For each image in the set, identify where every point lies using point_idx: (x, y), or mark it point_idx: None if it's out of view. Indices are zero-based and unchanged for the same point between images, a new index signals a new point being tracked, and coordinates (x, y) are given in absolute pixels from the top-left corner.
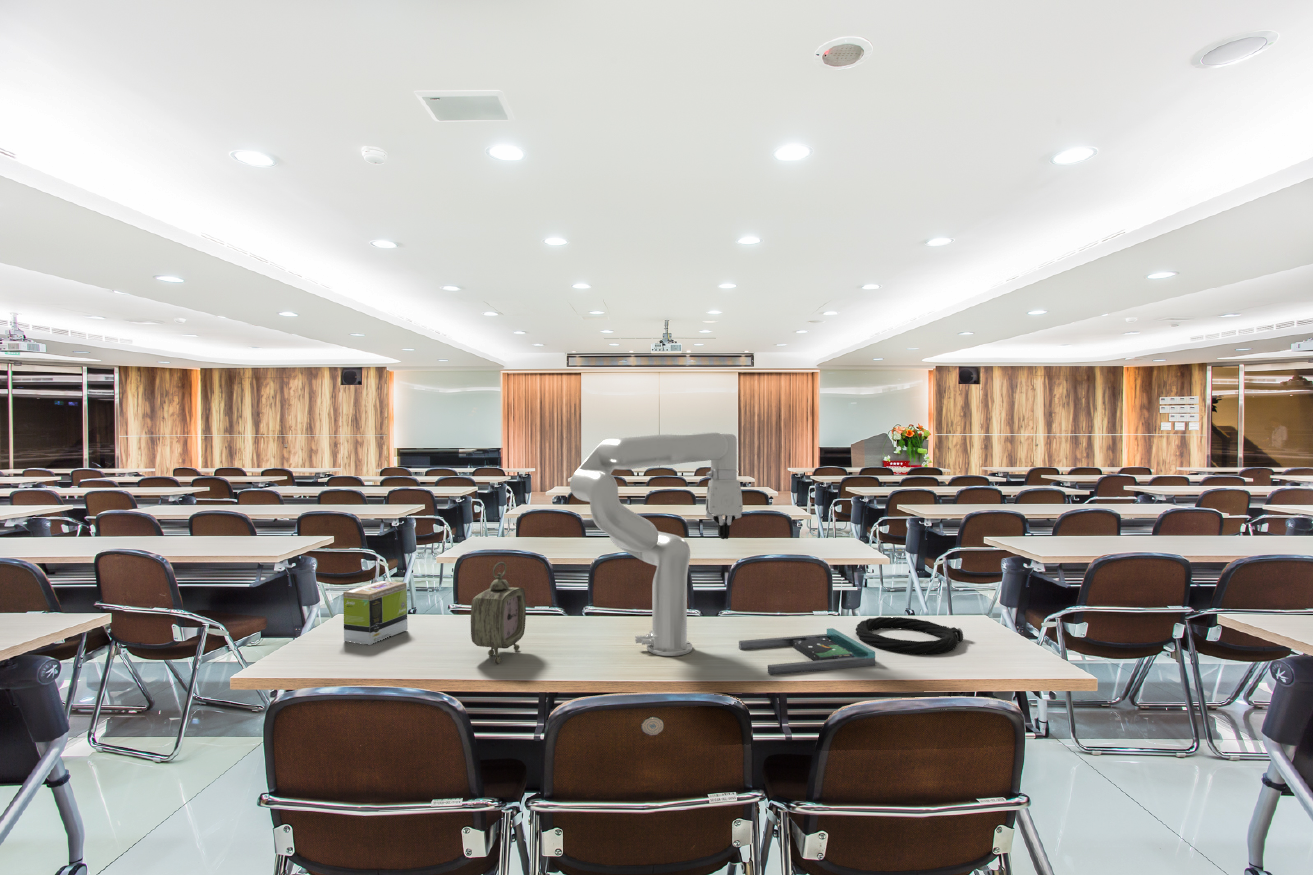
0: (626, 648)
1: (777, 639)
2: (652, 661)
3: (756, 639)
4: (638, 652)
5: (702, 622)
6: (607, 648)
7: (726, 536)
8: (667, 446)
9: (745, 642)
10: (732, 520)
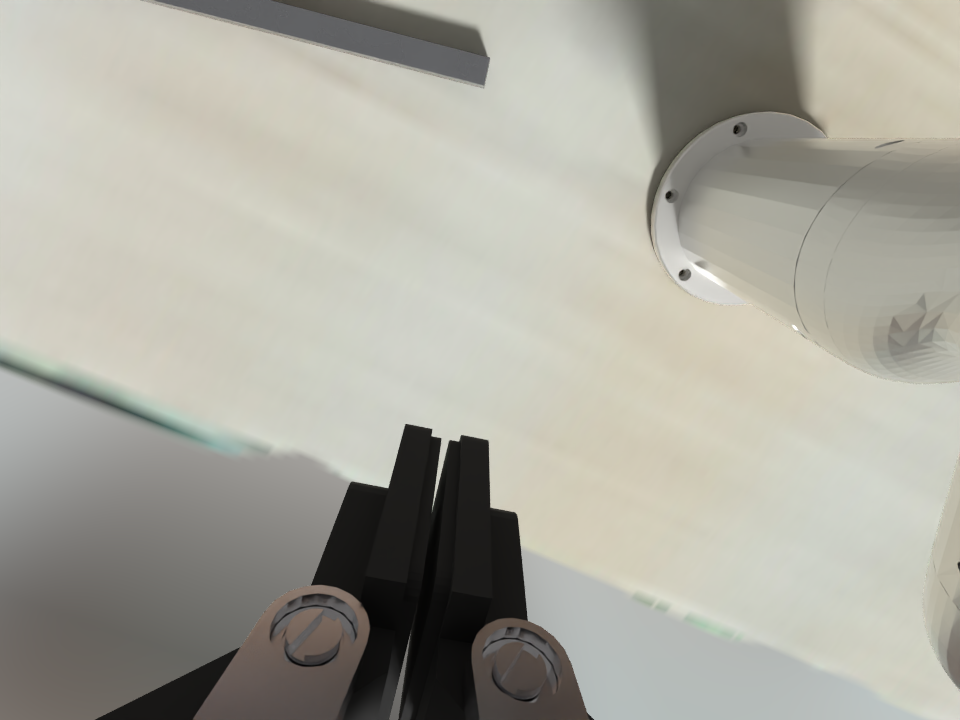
0: None
1: (302, 10)
2: (892, 108)
3: (398, 60)
4: None
5: None
6: None
7: (429, 444)
8: None
9: (466, 52)
10: (166, 703)
